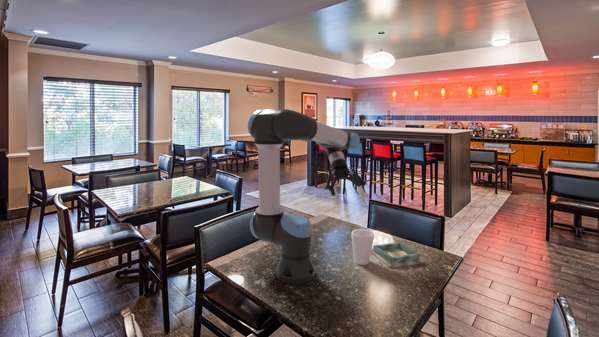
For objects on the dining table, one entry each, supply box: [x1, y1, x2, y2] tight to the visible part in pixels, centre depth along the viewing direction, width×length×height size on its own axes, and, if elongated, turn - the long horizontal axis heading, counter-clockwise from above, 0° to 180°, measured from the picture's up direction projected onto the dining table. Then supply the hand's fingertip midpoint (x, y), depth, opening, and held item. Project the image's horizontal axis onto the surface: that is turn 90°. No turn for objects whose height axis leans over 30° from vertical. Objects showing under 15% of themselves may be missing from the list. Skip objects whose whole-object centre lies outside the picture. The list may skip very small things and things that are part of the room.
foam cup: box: [350, 228, 375, 266], centre depth 141 cm, size 10×9×13 cm
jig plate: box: [370, 241, 425, 269], centre depth 147 cm, size 17×17×4 cm
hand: (351, 200), depth 150 cm, fingers open, 13 cm apart
